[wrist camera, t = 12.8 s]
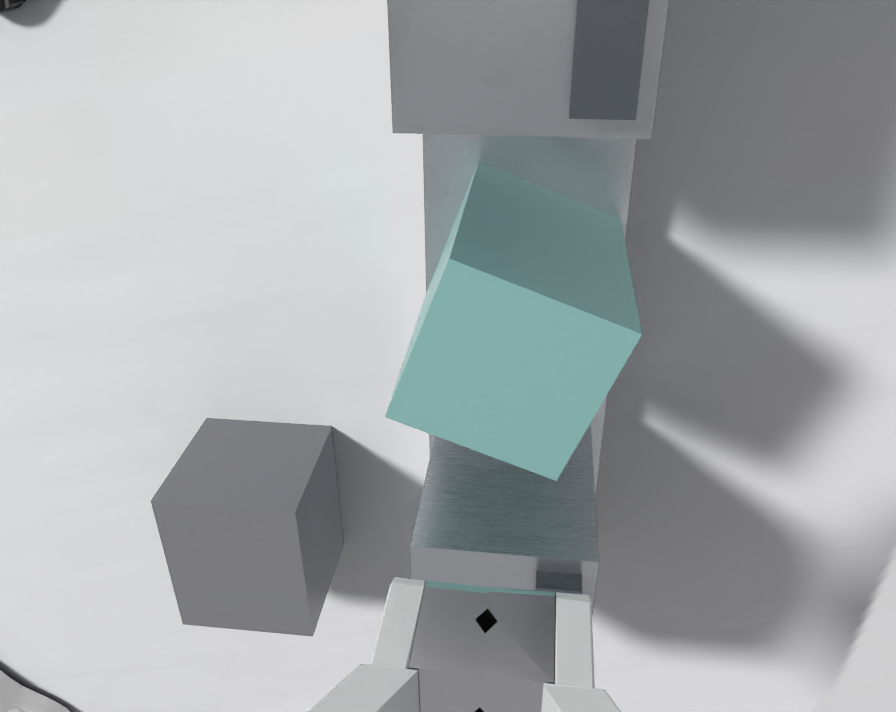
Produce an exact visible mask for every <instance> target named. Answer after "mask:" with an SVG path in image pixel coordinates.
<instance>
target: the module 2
mask: <svg viewBox="0 0 896 712" xmlns="http://www.w3.org/2000/svg"><path fill="white" fill-rule="evenodd" d="M641 336H642V330H641V325H640V319H639V314H638V308H637V303H636V298H635V292H634V287H633V282H632V276H631V271H630V266H629V260H628V255H627V250H626V244H625V239H624V233H623V228H622V223H621V220H620V219H618V218H615V217H613V216H610V215H608V214H605V213H603V212H600V211H598V210H595V209H593V208H590V207H588V206H585V205H583V204H580V203H578V202H575V201H573V200H570V199H568V198H566V197H563V196H561V195H558V194H556V193H553V192H551V191H548V190H546V189H543V188H541V187H538V186H536V185H533V184H531V183H528V182H526V181H523V180H521V179H519V178H516V177H514V176H511V175H509V174H506V173H504V172H501V171H499V170H496V169H494V168H491V167H489V166H486V165H484V164H481V163H479V162H478V164H477V167H476V169H475V172H474V175H473V177H472V180H471V182H470V185H469V187H468V190H467V192H466V195H465V197H464V200H463V202H462V205H461V207H460V210H459V212H458V215H457V217H456V220H455V222H454V225H453V227H452V230H451V232H450V235H449V237H448V240H447V242H446V245H445V247H444V250H443V253H442V255H441V258H440V260H439V263H438V265H437V268H436V270H435V273H434V275H433V278H432V280H431V283H430V285H429V288H428V290H427V293H426V296H425V299H424V302H423V305H422V308H421V311H420V314H419V317H418V320H417V323H416V326H415V329H414V332H413V335H412V338H411V341H410V344H409V347H408V350H407V353H406V356H405V359H404V362H403V365H402V368H401V371H400V374H399V377H398V380H397V383H396V386H395V389H394V392H393V395H392V398H391V401H390V403H389V406H388V409H387V412H386V415H385V417H387V418H389V419H392V420H395V421H397V422H400V423H403V424H405V425H408V426H411V427H413V428H416V429H419V430H421V431H424V432H427V433H429V434H432V435H435V436H437V437H440V438H443V439H445V440H448V441H451V442H453V443H456V444H459V445H461V446H464V447H467V448H470V449H472V450H475V451H478V452H480V453H483V454H486V455H488V456H491V457H494V458H496V459H499V460H502V461H504V462H507V463H510V464H512V465H515V466H518V467H520V468H523V469H526V470H528V471H531V472H534V473H536V474H539V475H542V476H544V477H547V478H550V479H552V480H555V481H557V479H558V477H559V476H560V474H561V472H562V471H563V469H564V467H565V466H566V464H567V462H568V460H569V459H570V457H571V455H572V454H573V452H574V450H575V448H576V447H577V445H578V443H579V442H580V440H581V438H582V436H583V435H584V433H585V431H586V430H587V428H588V426H589V425H590V423H591V421H592V419H593V418H594V416H595V414H596V413H597V411H598V409H599V407H600V406H601V404H602V402H603V401H604V399H605V397H606V396H607V394H608V392H609V390H610V389H611V387H612V385H613V384H614V382H615V380H616V378H617V377H618V375H619V373H620V372H621V370H622V368H623V367H624V365H625V363H626V361H627V360H628V358H629V356H630V355H631V353H632V351H633V349H634V348H635V346H636V344H637V343H638V341H639V339H640V337H641Z"/></svg>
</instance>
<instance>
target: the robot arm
mask: <svg viewBox="0 0 896 712" xmlns="http://www.w3.org/2000/svg"><path fill="white" fill-rule="evenodd" d="M0 712H70V711H69V710H68V709H67V708H65V707H64V706H62V705H61V704H59V703H57V702H56V701H54V700H52V699H50V698H48V697H46V696H43V695H41V694H39V693H37V692H35V691H33V690H30V689H28V688H26V687H24V686H22V685H20V684H19V683H17V682H16V681H14V680H13V679H11V678H10V677H8V676H7V675H6V674H5V673H3V672H2V671H1V670H0ZM308 712H621V711H620V710H619V709H618V707H617V706H616V704H615V703H614V702H613V700H612V699H611V698H610V696H609V695H608V693H607V692H606V691H605V690H602V689H595V685H594V660H593V635H592V610H591V599H590V597H589V595H582V594H570V593H559V592H556V594H555V592H549V591H537V590H524V589H512V588H499V587H481V586H473V585H464V584H456V583H447V582H439V581H430V580H427V581H426V580H417V579H408V578H399V577H394V579H393V581H392V582H391V584H390V587H389V591H388V595H387V599H386V603H385V607H384V611H383V615H382V619H381V623H380V627H379V630H378V634H377V638H376V642H375V646H374V650H373V654H372V658H371V662H370V665H365V664H360V665H359V666H358V667H357V668H356V669H354V670H353V671H352V672H351V673H350V674H349V675H348V676H347V677H346V678H345V679H343V680H342V681H341V682H340V683H339V684H338V685H337V686H336V687H335V688H334V689H332V690H331V691H330V692H329V693H328V694H327V695H326V696H325V697H324V698H323V699H322V700H320V701H319V702H318V703H317V704H316V705H315V706H314V707H313V708H312V709H311V710H309V711H308Z"/></svg>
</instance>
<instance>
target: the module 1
mask: <svg viewBox="0 0 896 712" xmlns="http://www.w3.org/2000/svg"><path fill="white" fill-rule="evenodd" d="M151 503H152V507H153V511H154V515H155V519H156V522H157V526H158V530H159V534H160V538H161V542H162V546H163V549H164V553H165V557H166V561H167V565H168V569H169V572H170V576H171V580H172V584H173V588H174V592H175V596H176V599H177V603H178V607H179V611H180V615H181V619H182V622H183V624H186V625H197V626H208V627H218V628H229V629H240V630H250V631H261V632H272V633H282V634H293V635H303V636H313V634H314V631H315V628H316V625H317V622H318V619H319V616H320V613H321V610H322V607H323V604H324V601H325V598H326V595H327V592H328V589H329V586H330V583H331V580H332V577H333V574H334V571H335V568H336V565H337V562H338V559H339V556H340V553H341V550H342V547H343V544H344V538H343V529H342V519H341V509H340V500H339V490H338V480H337V471H336V461H335V451H334V442H333V432H332V426H322V425H306V424H291V423H275V422H260V421H244V420H229V419H213V418H206V420H205V421H204V423H203V424H202V426H201V427H200V429H199V430H198V432H197V433H196V435H195V436H194V438H193V439H192V441H191V442H190V444H189V445H188V447H187V448H186V450H185V451H184V453H183V454H182V455H181V457H180V458H179V460H178V461H177V463H176V464H175V466H174V467H173V469H172V470H171V472H170V473H169V475H168V476H167V478H166V479H165V481H164V482H163V484H162V485H161V487H160V488H159V490H158V491H157V493H156V494H155V496H154V497H153V498H152V500H151Z"/></svg>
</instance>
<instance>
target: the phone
mask: <svg viewBox="0 0 896 712" xmlns="http://www.w3.org/2000/svg"><path fill="white" fill-rule="evenodd" d="M25 1H26V0H0V13H1V12H5V11H10V10H13V9H15V8H18V7H20V6H21V5H22V4H23V3H24V2H25Z"/></svg>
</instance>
